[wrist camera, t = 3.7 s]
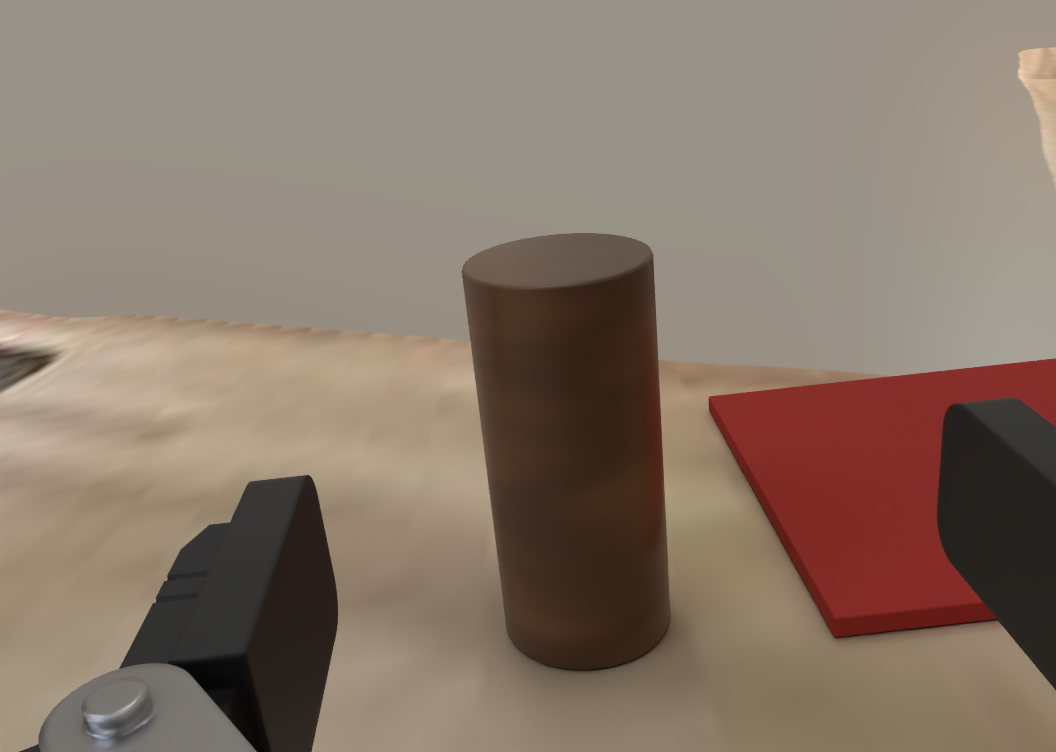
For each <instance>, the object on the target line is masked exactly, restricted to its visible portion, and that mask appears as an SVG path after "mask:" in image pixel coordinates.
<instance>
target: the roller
mask: <svg viewBox="0 0 1056 752" xmlns="http://www.w3.org/2000/svg"><path fill="white" fill-rule="evenodd" d="M462 277H463V284H464V292H465V300H466V309H467V316H468V324H469V332H470V340H471V348H472V356H473V364H474V372H475V380H476V388H477V396H478V404H479V412H480V420H481V428H482V436H483V444H484V452H485V460H486V467H487V475H488V483H489V491H490V499H491V507H492V515H493V523H494V531H495V539H496V547H497V555H498V563H499V571H500V579H501V587H502V595H503V603H504V611H505V618H506V626H507V631H508V633H509V636H510V637H511V639H512V641H513V642H514V644H515V645H516V646H517V647H518V648H519V649H520V650H521V651H522V652H524V653H525V654H526V655H528V656H529V657H531V658H533V659H535V660H537V661H539V662H542V663H544V664H547V665H551V666H554V667H559V668H565V669H574V670H590V669H600V668H607V667H611V666H615V665H619V664H622V663H625V662H628V661H631V660H633V659H635V658H637V657H639V656H641V655H642V654H644V653H646V652H647V651H649V650H650V649H651V648H652V647H654V646H655V645H656V644H657V643H658V642H659V641H660V639H661V638H662V636H663V635H664V634H665V632H666V629H667V627H668V625H669V621H670V597H669V576H668V555H667V534H666V513H665V493H664V472H663V451H662V430H661V409H660V389H659V368H658V347H657V326H656V306H655V285H654V265H653V253H652V251H651V249H650V247H649V246H648V245H646V244H644V243H643V242H640V241H638V240H635V239H632V238H627V237H623V236H617V235H609V234H594V233H574V234H557V235H548V236H539V237H533V238H527V239H522V240H517V241H513V242H508V243H505V244H501V245H498V246H495V247H492V248H490V249H487V250H484V251H482V252H480V253H478V254H476V255H474V256H473V257H471V258H470V259H469V260H467V261H466V262H465V264H464V265H463V269H462Z"/></svg>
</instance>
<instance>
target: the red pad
mask: <svg viewBox="0 0 1056 752" xmlns="http://www.w3.org/2000/svg"><path fill="white" fill-rule="evenodd" d="M1008 397H1014V398H1017V399H1019V400H1021V401H1022V402H1023V403H1025V404H1026V405H1027V406H1029V407H1030V408H1031V409H1033V410H1034V411H1035V412H1037V413H1038V414H1039V415H1041V416H1042V417H1043V418H1045V419H1046V420H1047V421H1048V422H1050V423H1051V424H1052V425H1054V426H1055V427H1056V359H1047V360H1038V361H1029V362H1020V363H1011V364H1002V365H993V366H983V367H974V368H966V369H956V370H947V371H938V372H930V373H919V374H910V375H901V376H892V377H883V378H874V379H865V380H856V381H846V382H837V383H828V384H819V385H810V386H801V387H792V388H783V389H773V390H764V391H755V392H746V393H737V394H728V395H719V396H710V397H709V411H710V412H711V414H712V416H713V418H714V420H715V421H716V423H717V425H718V427H719V429H720V431H721V432H722V434H723V436H724V438H725V440H726V441H727V443H728V445H729V447H730V449H731V450H732V452H733V454H734V456H735V458H736V459H737V461H738V463H739V465H740V467H741V468H742V470H743V472H744V474H745V476H746V478H747V479H748V481H749V483H750V485H751V487H752V488H753V490H754V492H755V494H756V496H757V497H758V499H759V501H760V503H761V505H762V506H763V508H764V510H765V512H766V514H767V516H768V517H769V519H770V521H771V523H772V525H773V526H774V528H775V530H776V532H777V534H778V535H779V537H780V539H781V541H782V543H783V544H784V546H785V548H786V550H787V552H788V554H789V555H790V557H791V559H792V561H793V563H794V564H795V566H796V568H797V570H798V572H799V573H800V575H801V577H802V579H803V581H804V582H805V584H806V586H807V588H808V590H809V592H810V593H811V595H812V597H813V599H814V601H815V602H816V604H817V606H818V608H819V610H820V611H821V613H822V615H823V617H824V619H825V620H826V622H827V624H828V626H829V628H830V629H831V631H832V633H833V635H834V636H835V637H842V636H851V635H860V634H869V633H878V632H886V631H895V630H904V629H913V628H922V627H931V626H939V625H948V624H957V623H966V622H975V621H984V620H992V619H997V618H996V617H995V616H994V615H993V614H992V612H991V611H990V610H989V609H988V608H987V606H986V605H985V604H984V603H983V601H982V600H981V599H980V598H979V597H978V595H977V594H976V593H975V592H974V591H973V589H972V588H971V587H970V586H969V585H968V583H967V582H966V581H965V580H964V579H963V577H962V576H961V575H960V574H959V572H958V571H957V570H956V569H955V568H954V566H953V565H952V564H951V563H950V561H949V560H948V558H947V556H946V554H945V552H944V550H943V547H942V544H941V541H940V537H939V532H938V526H937V502H938V487H939V472H940V458H941V443H942V428H943V420H944V416H945V413H946V411H947V409H948V408H949V407H950V406H951V405H952V404H955V403H964V402H973V401H982V400H990V399H999V398H1008Z"/></svg>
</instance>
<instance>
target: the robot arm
mask: <svg viewBox="0 0 1056 752" xmlns="http://www.w3.org/2000/svg"><path fill="white" fill-rule="evenodd" d="M937 526H938V532H939V537H940V541H941V544H942V547H943V550H944V552H945V554H946V556H947V558H948V560H949V561H950V563H951V564H952V565H953V566H954V568H955V569H956V570H957V571H958V572H959V574H960V575H961V576H962V577H963V579H964V580H965V581H966V582H967V583H968V585H969V586H970V587H971V588H972V589H973V591H974V592H975V593H976V594H977V595H978V597H979V598H980V599H981V600H982V601H983V603H984V604H985V605H986V606H987V608H988V609H989V610H990V611H991V612H992V614H993V615H994V616H995V617H996V618H997V620H998V621H999V622H1000V623H1001V624H1002V626H1003V627H1004V628H1005V629H1006V631H1007V632H1008V633H1009V634H1010V635H1011V637H1012V638H1013V639H1014V640H1015V641H1016V643H1017V644H1018V645H1019V646H1020V647H1021V649H1022V650H1023V651H1024V652H1025V653H1026V655H1027V656H1028V657H1029V658H1030V660H1031V661H1032V662H1033V663H1034V664H1035V666H1036V667H1037V668H1038V669H1039V670H1040V672H1041V673H1042V674H1043V675H1044V676H1045V678H1046V679H1047V680H1048V681H1049V683H1050V684H1051V685H1052V686H1053V687H1054V689H1055V690H1056V427H1055V426H1054V425H1052V424H1051V423H1050V422H1048V421H1047V420H1046V419H1045V418H1043V417H1042V416H1041V415H1039V414H1038V413H1037V412H1035V411H1034V410H1033V409H1031V408H1030V407H1029V406H1027V405H1026V404H1025V403H1023V402H1022V401H1021V400H1019V399H1017V398H1014V397H1008V398H999V399H990V400H982V401H973V402H964V403H955V404H952V405H951V406H950V407H949V408H948V409H947V411H946V413H945V416H944V420H943V428H942V443H941V458H940V472H939V487H938V502H937ZM167 577H168V581H164V583H163V585H162V587H161V589H160V591H159V593H158V595H157V597H156V603H153V604H152V606H151V608H150V610H149V612H148V614H147V616H146V618H145V620H144V622H143V624H142V626H141V628H140V630H139V632H138V633H137V635H136V637H135V639H134V641H133V643H132V645H131V647H130V649H129V651H128V653H127V655H126V657H125V659H124V661H123V663H122V664H121V666H120V668H119V669H118V670H115V671H112V672H109V673H106V674H104V675H102V676H99V677H97V678H95V679H93V680H91V681H89V682H88V683H86V684H84V685H82V686H81V687H79V688H78V689H76V690H75V691H73V692H72V693H70V694H69V695H68V696H67V697H65V698H64V699H63V700H62V701H61V702H60V703H59V704H58V705H57V706H56V707H55V708H54V709H53V710H52V711H51V713H50V714H49V715H48V717H47V718H46V719H45V721H44V723H43V725H42V727H41V730H40V733H39V744H38V745H35V746H33V747H31V748H28V749H25V750H23V751H20V752H311V751H312V746H313V742H314V737H315V732H316V727H317V723H318V718H319V713H320V708H321V703H322V699H323V694H324V689H325V684H326V680H327V675H328V670H329V665H330V661H331V656H332V651H333V646H334V642H335V637H336V632H337V624H338V601H337V590H336V583H335V577H334V573H333V568H332V563H331V558H330V553H329V548H328V543H327V538H326V534H325V529H324V524H323V519H322V514H321V509H320V504H319V499H318V495H317V490H316V487H315V484H314V481H313V479H312V478H311V476H309V475H304V476H295V477H286V478H278V479H269V480H260V481H251V482H249V483H248V485H247V486H246V489H245V491H244V493H243V495H242V497H241V500H240V502H239V504H238V506H237V508H236V511H235V513H234V515H233V517H232V520H231V522H230V523H222V524H213V525H209V526H208V527H206V528H205V529H204V530H203V531H202V532H201V533H199V534H198V535H197V536H196V537H195V538H194V539H193V540H191V541H190V542H189V543H188V544H187V545H186V546H184V547H183V548H182V549H181V550H180V552H179V554H178V556H177V558H176V560H175V562H174V564H173V566H172V568H171V570H170V572H169V573H168V575H167Z"/></svg>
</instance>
